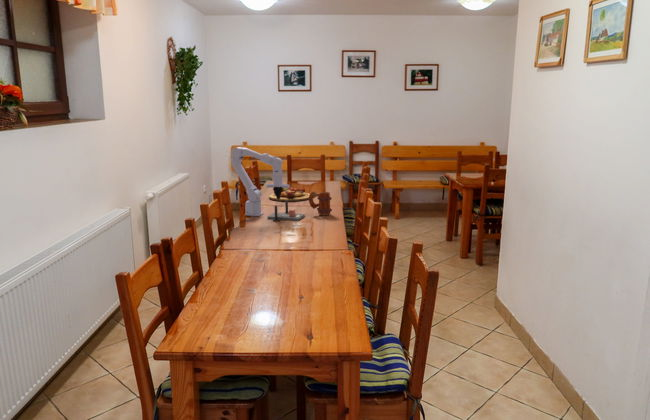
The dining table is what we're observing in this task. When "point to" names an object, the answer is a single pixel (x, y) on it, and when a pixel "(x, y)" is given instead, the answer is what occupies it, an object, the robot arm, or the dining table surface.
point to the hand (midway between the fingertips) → (278, 199)
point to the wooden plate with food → (291, 195)
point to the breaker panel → (286, 216)
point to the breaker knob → (291, 212)
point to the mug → (321, 202)
